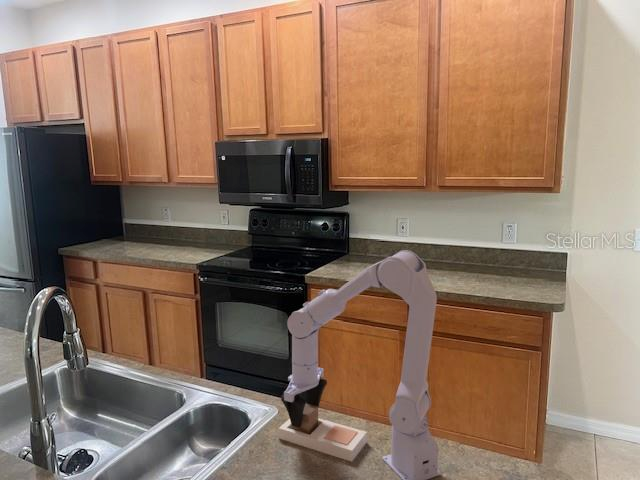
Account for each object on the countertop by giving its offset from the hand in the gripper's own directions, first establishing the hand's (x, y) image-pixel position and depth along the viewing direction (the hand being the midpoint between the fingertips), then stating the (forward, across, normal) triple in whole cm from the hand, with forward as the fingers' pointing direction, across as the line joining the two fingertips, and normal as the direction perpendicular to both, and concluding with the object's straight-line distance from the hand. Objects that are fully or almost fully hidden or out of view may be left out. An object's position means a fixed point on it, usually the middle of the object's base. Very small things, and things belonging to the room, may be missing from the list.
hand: (304, 417), depth 107 cm
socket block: (+4, 0, +4) cm, 6 cm away
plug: (+4, 0, 0) cm, 4 cm away
